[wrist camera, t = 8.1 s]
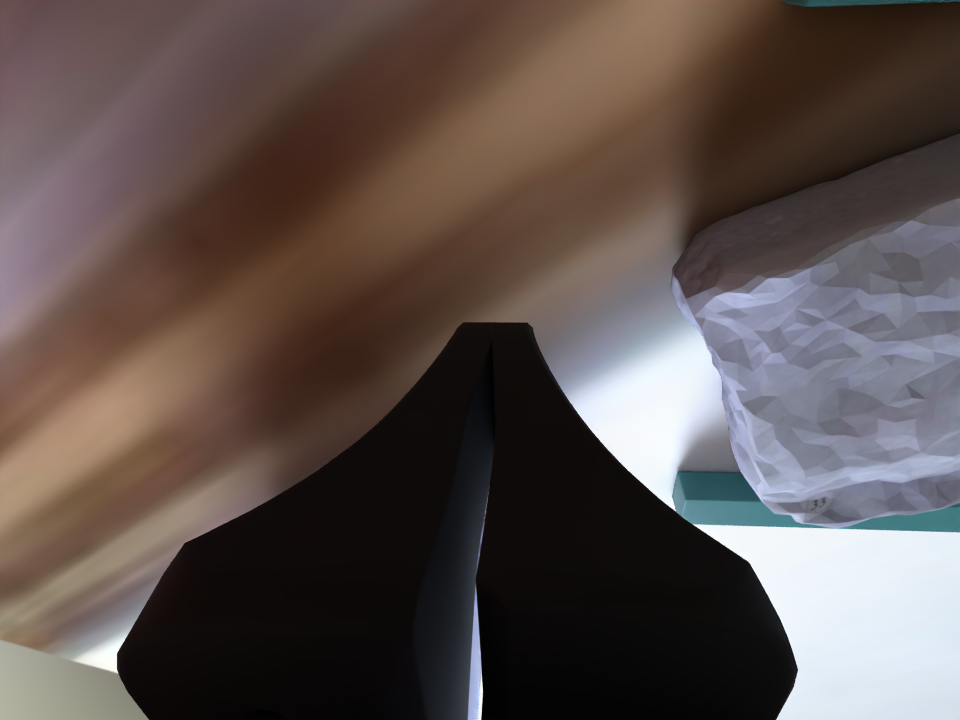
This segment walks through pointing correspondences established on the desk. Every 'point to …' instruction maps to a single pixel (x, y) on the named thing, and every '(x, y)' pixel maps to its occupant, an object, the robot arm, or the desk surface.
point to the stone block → (840, 339)
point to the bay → (732, 495)
